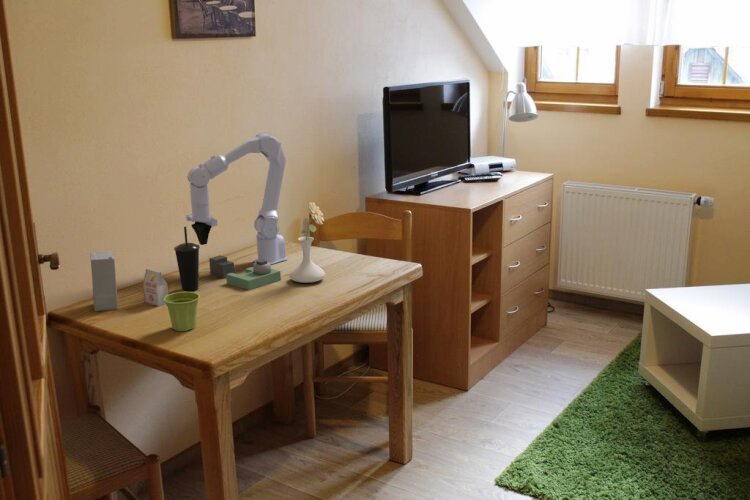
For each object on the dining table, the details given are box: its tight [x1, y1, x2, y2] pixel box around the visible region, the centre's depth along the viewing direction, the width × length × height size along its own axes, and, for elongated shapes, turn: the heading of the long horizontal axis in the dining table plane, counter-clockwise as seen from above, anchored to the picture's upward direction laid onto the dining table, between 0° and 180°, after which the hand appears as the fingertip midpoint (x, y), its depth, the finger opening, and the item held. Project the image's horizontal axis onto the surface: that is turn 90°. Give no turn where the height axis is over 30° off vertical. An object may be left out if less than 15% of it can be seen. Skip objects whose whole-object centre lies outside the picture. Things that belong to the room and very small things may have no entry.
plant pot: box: [164, 291, 201, 332], centre depth 207 cm, size 9×9×9 cm
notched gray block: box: [208, 254, 235, 279], centre depth 255 cm, size 4×7×6 cm, turn 48°
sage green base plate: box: [226, 260, 282, 291], centre depth 246 cm, size 13×11×7 cm
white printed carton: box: [142, 268, 169, 308], centre depth 227 cm, size 4×7×10 cm, turn 52°
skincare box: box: [90, 250, 118, 312], centre depth 225 cm, size 8×7×16 cm
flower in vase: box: [289, 201, 326, 284], centre depth 245 cm, size 13×11×25 cm
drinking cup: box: [173, 226, 201, 292], centre depth 238 cm, size 8×8×20 cm
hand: (203, 244), depth 259 cm, fingers closed
